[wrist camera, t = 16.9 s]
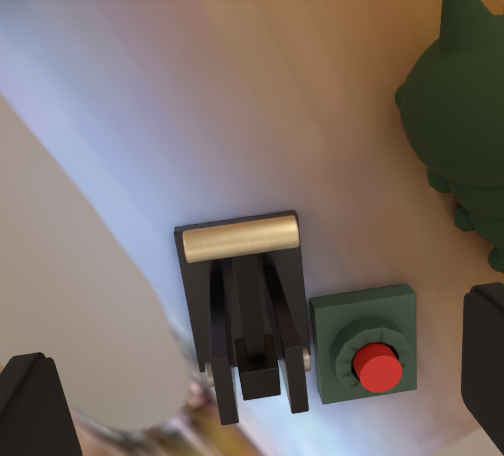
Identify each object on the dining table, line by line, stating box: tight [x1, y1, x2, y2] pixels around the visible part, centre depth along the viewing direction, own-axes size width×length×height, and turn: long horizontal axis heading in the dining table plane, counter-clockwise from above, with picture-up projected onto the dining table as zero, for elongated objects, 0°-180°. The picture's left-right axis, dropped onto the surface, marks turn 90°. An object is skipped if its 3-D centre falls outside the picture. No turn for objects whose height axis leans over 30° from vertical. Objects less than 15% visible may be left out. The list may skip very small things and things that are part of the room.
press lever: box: [183, 215, 299, 401], centre depth 24 cm, size 12×5×2 cm, turn 7°
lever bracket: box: [174, 210, 311, 425], centre depth 31 cm, size 12×9×12 cm
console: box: [310, 284, 417, 404], centre depth 37 cm, size 9×8×4 cm
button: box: [353, 343, 402, 392], centre depth 35 cm, size 3×3×2 cm
